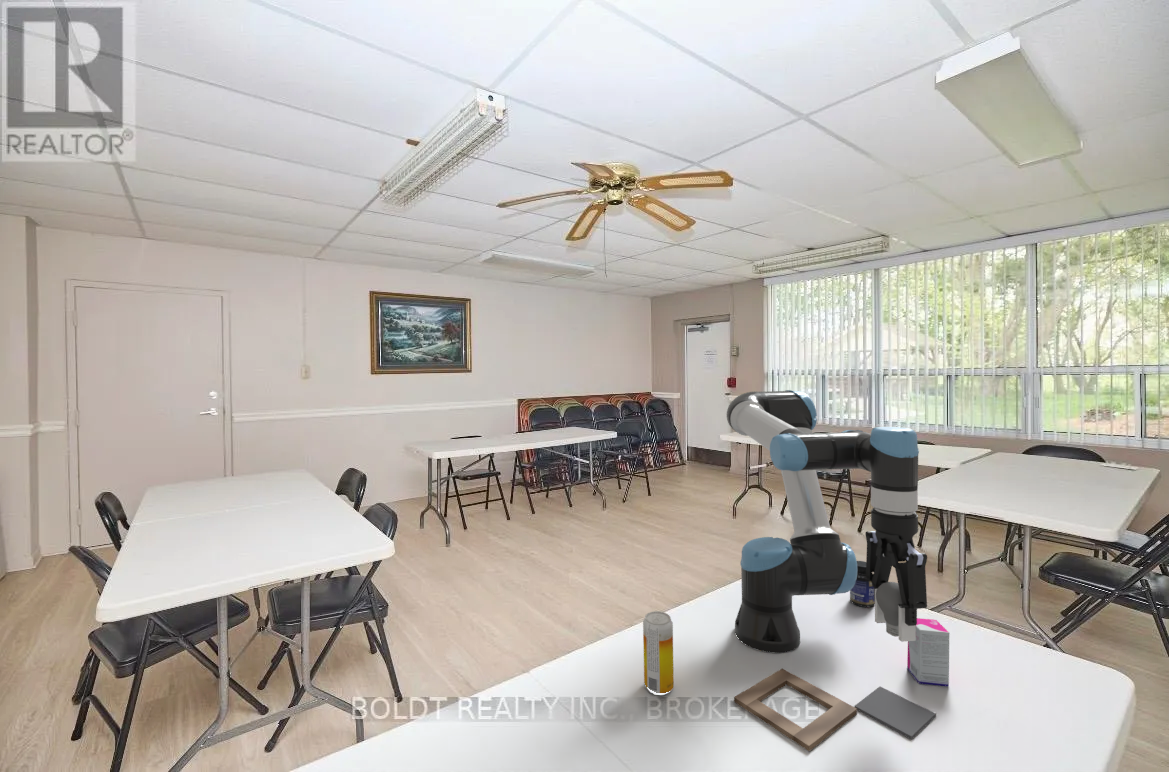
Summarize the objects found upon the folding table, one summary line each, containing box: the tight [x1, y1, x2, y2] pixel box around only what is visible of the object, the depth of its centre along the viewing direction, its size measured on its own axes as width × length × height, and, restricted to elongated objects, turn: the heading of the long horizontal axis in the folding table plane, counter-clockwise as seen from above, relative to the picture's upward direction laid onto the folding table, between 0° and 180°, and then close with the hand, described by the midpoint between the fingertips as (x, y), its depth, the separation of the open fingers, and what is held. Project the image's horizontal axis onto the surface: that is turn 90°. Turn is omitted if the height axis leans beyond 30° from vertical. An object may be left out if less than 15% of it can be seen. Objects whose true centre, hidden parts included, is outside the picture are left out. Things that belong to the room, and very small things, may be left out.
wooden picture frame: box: [733, 668, 858, 752], centre depth 97 cm, size 16×16×1 cm
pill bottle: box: [849, 560, 875, 608], centre depth 139 cm, size 6×6×11 cm
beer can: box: [642, 610, 675, 693], centre depth 104 cm, size 6×6×15 cm
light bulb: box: [876, 581, 902, 637], centre depth 95 cm, size 6×6×10 cm
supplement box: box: [906, 617, 951, 688], centre depth 106 cm, size 6×6×12 cm
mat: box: [854, 686, 937, 740], centre depth 95 cm, size 10×10×1 cm
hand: (894, 630), depth 95 cm, fingers closed on light bulb, 6 cm apart
